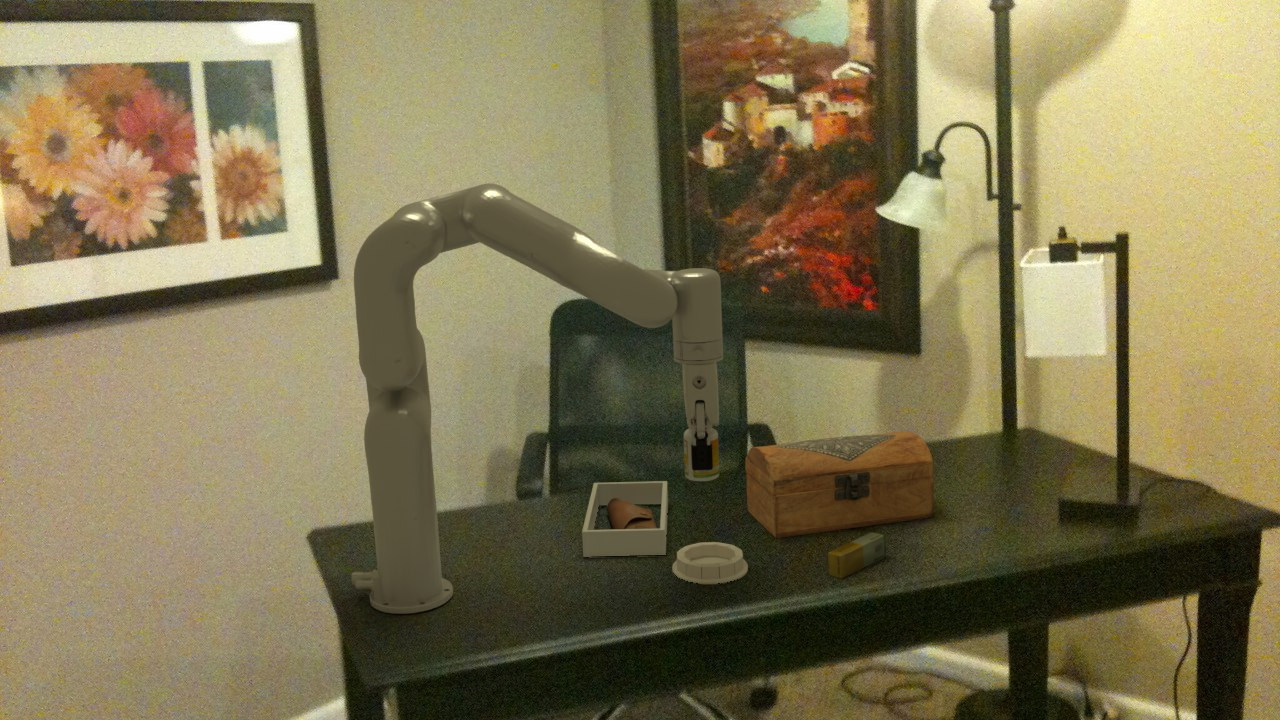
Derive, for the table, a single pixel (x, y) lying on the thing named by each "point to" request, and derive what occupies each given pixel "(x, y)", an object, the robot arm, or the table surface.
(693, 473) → the supplement bottle
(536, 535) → the table surface
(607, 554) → the frame
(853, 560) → the medication box
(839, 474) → the wooden box
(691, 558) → the coaster tray
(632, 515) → the sunglasses case
